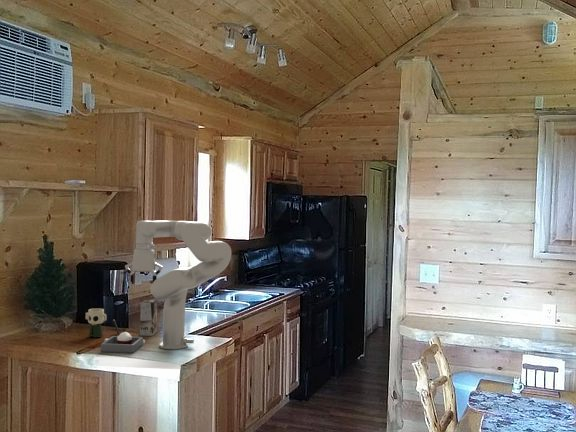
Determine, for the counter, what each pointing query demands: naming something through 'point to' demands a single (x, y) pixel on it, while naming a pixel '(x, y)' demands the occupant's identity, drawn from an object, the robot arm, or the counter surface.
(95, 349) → the counter surface
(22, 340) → the counter surface
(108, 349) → the tray
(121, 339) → the cocoa
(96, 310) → the big headed toy figurine
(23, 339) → the counter surface
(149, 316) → the coffee box
